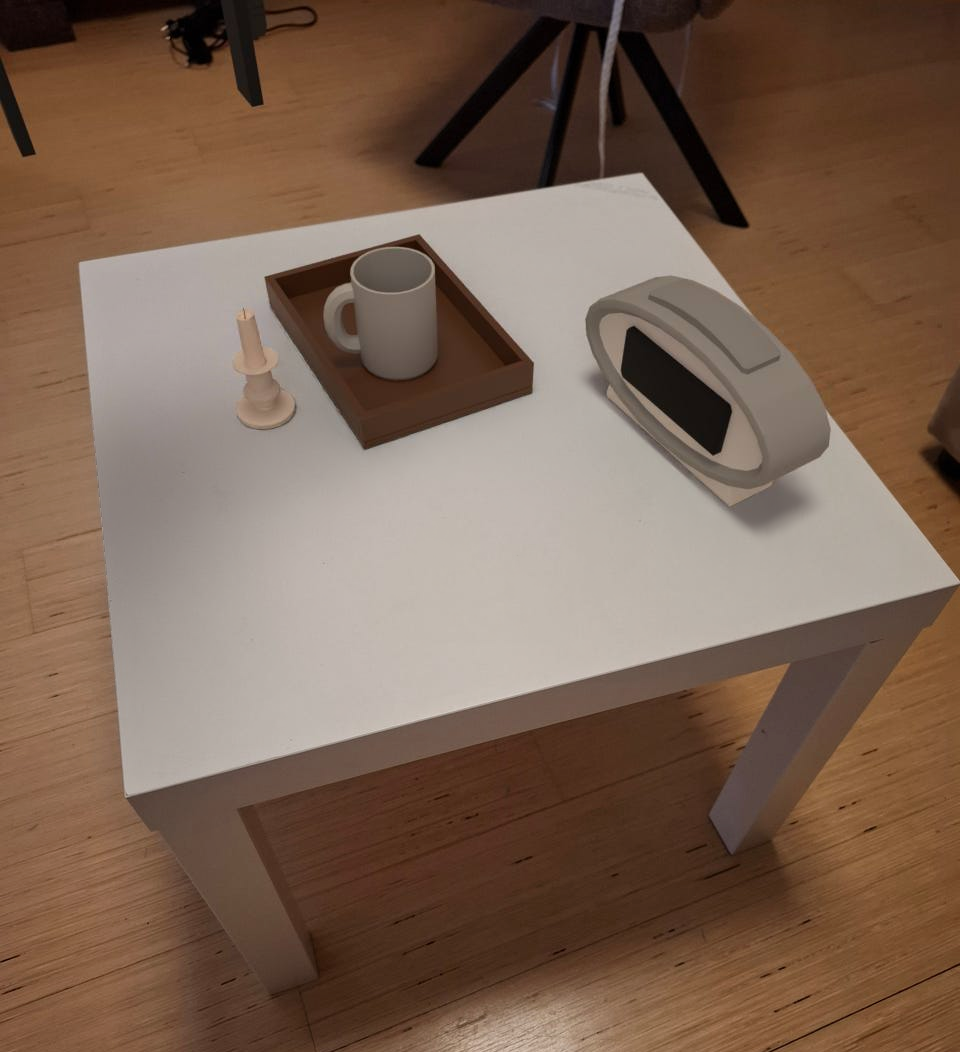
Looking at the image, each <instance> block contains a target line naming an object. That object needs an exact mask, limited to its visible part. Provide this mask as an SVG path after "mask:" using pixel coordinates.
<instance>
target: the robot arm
mask: <svg viewBox="0 0 960 1052" xmlns="http://www.w3.org/2000/svg"><path fill="white" fill-rule="evenodd" d="M220 3H221V8H222V9H221V10H222V14H223V19H224V24H225V30H226V35H227V41H228V45H229V51H230V57H231V61H232V62H231V63H232V67H233V72H234V77H235V83H236V89H237V91H238V92H239V93H240V95H241V96H242V97H243V98H244V99H245V100H246V102H247V103H248V104H249V106H251V108H255V107H260V106H263V105H265V102H264V96H263V91H262V84H261V79H260V73H259V67H258V61H257V55H256V50H255V43H254V39H257V38H260V37H261V38H262V37H266V34H267V28H268V23H267V16H266V10H265V3H264V0H220ZM0 106H1V109H2V112H3V114H4V117H5V119H6V122H7V124H8V127H9V130H10V133H11V135H12V138H13V140H14V142H15V144H16V147H17V148H18V151H19V153H20V155H21V157H22V158H27V157H31V156H35V155H37V153H36V150H35V147H34V145H33V142H32V138H31V136H30V133H29V131H28V128H27V125H26V123H25V120H24V117H23V114H22V111H21V109H20V106H19V103H18V101H17V98H16V95H15V93H14V90H13V87H12V85H11V82H10V79H9V76H8V74H7V71H6V68H5V66H4V63H3V60H2V57H1V56H0Z"/></svg>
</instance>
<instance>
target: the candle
mask: <svg viewBox="0 0 960 1052" xmlns="http://www.w3.org/2000/svg"><path fill="white" fill-rule="evenodd" d="M235 318H236V324H237V329H238V336H239V340H240V344H241V345H240V346H241V350H240V351H238V352H236V354H234V356H233V357H232V360H231V363H232V364H231V365H232V367H233V369H234V370H235V371H236V372H237V373H239V374H242V375H245V381H246V383H245V385H244V386H243V388H242V392H243V396H241V397H240V398H239V400H238V401H237V403H236V406H235V410H236V411H235V412H236V416H237V418H238V420H239V422H241V423H242V424H243V425H244V426H247V427H248V428H251V429H256V430H270V429H275V428H279V427H281V426H283V425H284V424H286V423H288V422H289V421H290V420H291V419H292V418H293V417H294V415H295V413H296V409H297V407H296V401H295V398H294V397H293V395H292V394H291V393H290V392H289V391H287V390H285V389H281V385H280V383H279V381H278V380H277V379H275V378H273V373H272V370H273V369H274V368H276V366H277V365H278V364H279V355H278V353H277V352H276V351H275V350H274V349H273V348H270V347H268V346H264V345H262V340H261V335H260V332H259V328H258V323H257V320H256V317H255V312H254V309H252V308H244V307H242V309H241V310H239V311H238V312H237V314H236V317H235Z"/></svg>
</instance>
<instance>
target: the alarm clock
mask: <svg viewBox="0 0 960 1052" xmlns="http://www.w3.org/2000/svg"><path fill="white" fill-rule="evenodd" d="M584 321H585V322H584V323H585V336H586V338H587V341H588V344H589V347H590V350H591V353H592V356H593V358H594V360H595V362H596V364H597V366H598V367H599V369H600V371H601V374H602V376H603V377H604V379H605V380H606V382H607V383H608V384H609V385H608V387H607V390H606V397H607V398H608V399H609V400H610V401H611V402H613V404H615V405H616V406H617V407H618V408H619V409H620V410H621V411H623V412H624V413H625V415H627V416H628V418H630V419H631V420H632V421H634V422H635V424H637V425H638V426H639V427H640V428H641V429H642V430H644V432H646V433H647V434H648V435H649V436H650V437H651V438H652V439H654V440H655V441H656V442H657V443H658V444H659V445H660V446H661V447H662V448H663V449H665V451H667V452H668V453H669V454H670V455H671V456H672V457H674V459H676V460H677V461H678V462H679V463H680V464H681V465H682V466H683V467H685V468H686V469H687V470H688V472H690V473H691V474H692V475H693V476H695V477H696V479H698V480H699V481H700V482H701V483H702V484H703V485H704V486H705V487H707V488H708V489H709V490H710V491H711V492H712V493H713V494H714V495H716V496H717V497H718V498H719V499H720V500H721V501H723V503H725V504H726V506H727V507H729V508H730V507H732V506H735V505H737V504H738V503H740V502H742V501H745V500H746V499H749V498H750V497H752V496H754V495H757V494H758V493H760V492H762V491H764V490H765V489H768V488H770V487H771V486H772V485H773V483H774V481H776V480H777V479H780V478H782V477H784V476H786V475H787V474H789V473H792V472H793V471H795V470H797V469H799V468H802V467H803V466H805V465H807V464H809V463H811V462H813V461H816V460H817V459H820V458H821V457H822V456H823V454H824V453H825V451H827V449H828V448H829V447H830V440H831V432H832V431H831V429H832V428H831V425H830V420H829V417H828V413H827V409H826V406H825V404H824V402H823V400H822V398H821V396H820V394H819V391H818V390H817V389H816V386H815V385H814V384H815V383H814V382H813V381H812V379H811V377H810V376H809V375H808V373H806V371H805V369H804V368H803V367H802V365H801V364H800V363H799V361H798V360H797V358H796V357H795V356H794V354H793V352H791V351H790V350H789V349H788V348H787V347H786V345H784V344H783V342H781V340H780V339H778V338H777V336H776V335H775V334H774V333H773V332H772V331H771V330H770V329H769V328H768V327H767V326H765V325H764V324H763V323H762V322H760V320H758V319H757V318H756V317H755V316H753V315H752V314H751V313H750V312H749V311H748V310H746V309H745V308H744V307H743V306H741V305H739V304H738V303H737V302H735V301H733V300H732V299H730V298H728V297H727V296H726V295H724V294H723V293H721V292H720V291H717V290H716V289H714V288H712V287H709V286H707V285H705V284H702V283H701V282H698V281H696V280H694V279H690V278H685V277H680V276H675V275H663V276H655V277H652V278H650V279H647V280H644V281H642V282H640V283H637V284H634V285H631V286H629V287H626V288H624V289H622V290H619V291H616V292H614V293H611V294H609V295H607V296H603V297H601V298H599V299H598V300H596V301H595V302H593V303H592V304H591V305H590V306H589V307H588V310H587V313H586V316H585V318H584Z"/></svg>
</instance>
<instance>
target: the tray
mask: <svg viewBox="0 0 960 1052" xmlns="http://www.w3.org/2000/svg"><path fill="white" fill-rule="evenodd" d="M385 247H404V248H410V249H414V250H417V251H419V252H421V253H423V254H425V255H427V256H428V257H429V258H430V259H431V260H432V262H433V264H434V266H435V289H436V314H437V339H438V357H437V359H436V362H435V363H434V365H433V366H432V367H431V368H430V370H429V371H427V372H426V373H424V374H423V375H421V376H419V377H416V378H413V379H408V380H398V381H394V380H387V379H383V378H380V377H377V376H376V375H374V374H372V373H371V372H370V371H369V370H368V369H367V368H366V367H365V366H364V365H363V363H362V360H361V356H360V353H354V354H353V353H348V352H344V351H343V350H341V349H339V348H338V347H337V346H335V345H334V343H333V342H332V341H331V339H330V338H329V336H328V334H327V331H326V329H325V324H324V318H323V316H324V306H325V303H326V301H327V298H328V296H329V295H330V294H331V293H332V292H333V290H334V289H335V288H336V287H339V286H341V285H343V284H347V283H351V275H350V272H351V267H352V265H353V263H354V261H355V260H357V259H358V258H359V257H360V256H362V255H363V254H365V253H367V252H369V251H372V250H375V249H379V248H385ZM263 278H264V283H265V287H266V293H267V298H268V302H269V307H270V308H271V310H272V311H273V313H274V314H275V317H277V319H278V321H279V322H280V323H281V325H282V327H283V328H284V330H285V332H286V333H287V334H288V336H289V337H290V339H291V341H292V342H293V343H294V345H295V346H296V348H297V349H298V351H299V352H300V354H301V355H302V357H303V358H304V360H305V361H306V363H307V365H308V366H309V367H310V369H311V370H312V372H313V373H314V375H315V376H316V378H317V380H318V381H319V383H320V384H321V386H322V387H323V389H324V390H325V392H326V393H327V395H328V396H329V398H330V400H331V401H332V402H333V404H334V405H335V407H336V408H337V410H338V412H339V413H340V415H341V416H342V418H343V420H344V421H345V422H346V424H347V425H348V427H349V428H350V429H351V431H352V433H353V434H354V436H355V437H356V439H357V440H358V442H359V444H360V445H361V446H362V448H363V449H364V450H367V449H371V448H373V447H376V446H380V445H382V444H385V443H388V442H392V441H394V440H397V439H400V438H403V437H406V436H408V435H412V434H415V433H417V432H421V431H423V430H427V429H430V428H432V427H435V426H438V425H441V424H445V423H447V422H450V421H452V420H453V421H454V420H456V419H460V418H462V417H465V416H468V415H471V414H474V413H476V412H480V411H482V410H483V411H484V410H486V409H489V408H491V407H494V406H498V405H501V404H503V403H506V402H509V401H512V400H516V399H518V398H521V397H524V396H527V395H531V394H532V393H533V385H534V373H535V372H534V369H535V362H534V361H533V360H532V359H531V358H530V356H529V355H528V354H527V353H526V352H525V351H524V350H523V349H522V348H521V346H520V345H519V344H518V343H517V342H516V341H515V340H514V338H513V337H512V336H511V335H510V334H509V333H508V332H507V331H506V330H505V328H504V327H503V326H502V325H501V324H500V323H499V321H498V320H496V319H495V318H494V316H493V315H492V314H491V313H490V312H489V310H488V309H487V308H486V306H484V305H483V304H482V302H480V300H479V299H478V298H477V297H476V295H474V294H473V293H472V291H471V290H470V289H469V288H468V287H467V286H466V285H465V283H463V281H462V280H461V279H460V278H459V277H458V275H457V274H456V273H454V271H453V270H452V269H451V268H450V267H449V266H448V265H447V263H446V262H445V261H444V260H443V259H442V258H441V257H440V255H439V254H438V253H437V252H436V251H435V249H433V247H432V246H431V245H430V244H429V242H428V241H426V240H425V239H424V238H423V236H422V235H421V234H419V233H418V234H414V235H410V236H407V237H403V238H399V239H397V240H393V241H389V242H386V243H382V244H378V245H375V246H371V247H367V248H363V249H360V250H357V251H353V252H348V253H345V254H342V255H338V256H334V257H331V258H327V259H324V260H320V261H316V262H313V263H309V264H305V265H302V266H298V267H294V268H291V269H287V270H283V271H280V272H277V273H273V274H268V275H266V276H264V277H263ZM342 321H343V326H344V329H345V331H346V333H347V334H350V335H357V326H356V318H355V309H354V302H353V303H348V304H346V305H344V307H343V310H342Z"/></svg>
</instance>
